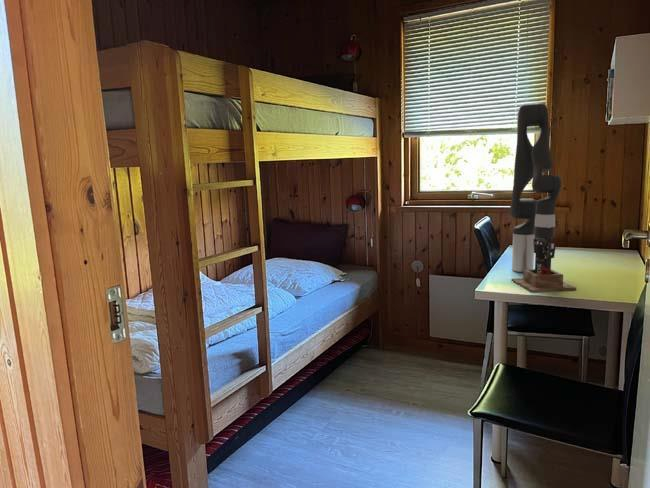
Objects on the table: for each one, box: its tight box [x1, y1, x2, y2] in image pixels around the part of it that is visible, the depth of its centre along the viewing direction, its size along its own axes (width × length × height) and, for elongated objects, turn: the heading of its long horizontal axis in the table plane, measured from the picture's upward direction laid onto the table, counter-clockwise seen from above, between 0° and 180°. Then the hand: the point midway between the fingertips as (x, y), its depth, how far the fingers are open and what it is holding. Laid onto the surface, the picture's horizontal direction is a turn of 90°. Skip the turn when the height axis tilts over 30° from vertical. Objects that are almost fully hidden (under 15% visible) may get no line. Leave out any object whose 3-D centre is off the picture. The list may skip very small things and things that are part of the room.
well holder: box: [511, 268, 577, 293], centre depth 200 cm, size 18×18×6 cm
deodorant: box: [534, 244, 552, 275], centre depth 199 cm, size 6×6×15 cm
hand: (543, 266), depth 199 cm, fingers closed on deodorant, 6 cm apart
